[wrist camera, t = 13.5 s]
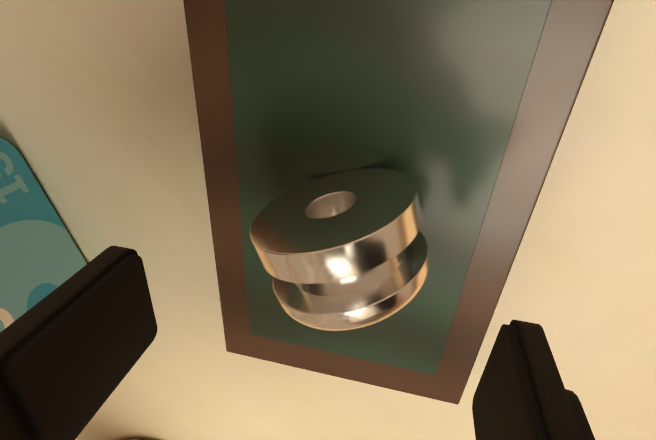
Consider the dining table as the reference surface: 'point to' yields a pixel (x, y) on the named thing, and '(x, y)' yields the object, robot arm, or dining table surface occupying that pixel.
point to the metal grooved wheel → (344, 248)
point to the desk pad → (385, 154)
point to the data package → (29, 240)
